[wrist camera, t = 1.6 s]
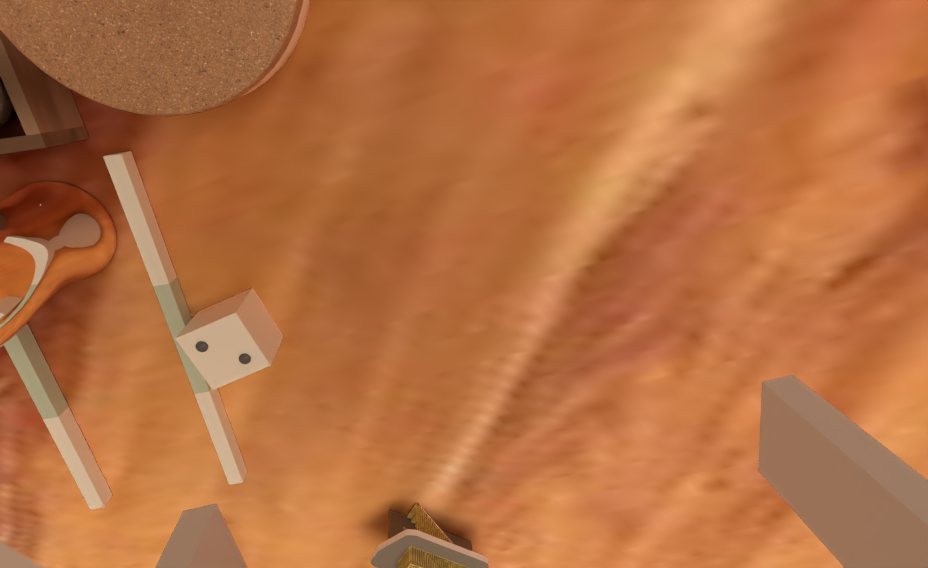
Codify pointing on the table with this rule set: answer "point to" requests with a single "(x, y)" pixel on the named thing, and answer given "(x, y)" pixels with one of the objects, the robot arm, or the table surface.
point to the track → (177, 317)
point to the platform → (423, 545)
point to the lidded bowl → (156, 48)
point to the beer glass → (47, 247)
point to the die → (231, 339)
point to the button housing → (37, 104)
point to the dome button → (4, 104)
